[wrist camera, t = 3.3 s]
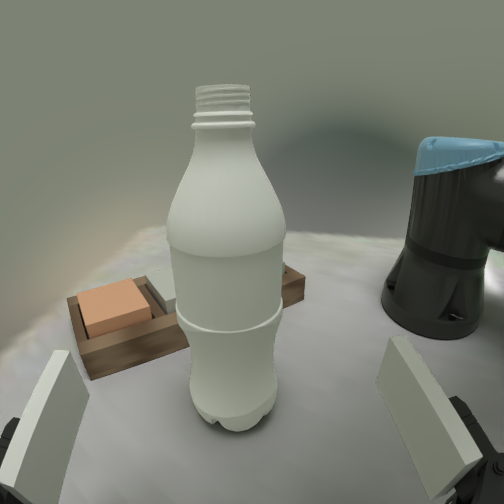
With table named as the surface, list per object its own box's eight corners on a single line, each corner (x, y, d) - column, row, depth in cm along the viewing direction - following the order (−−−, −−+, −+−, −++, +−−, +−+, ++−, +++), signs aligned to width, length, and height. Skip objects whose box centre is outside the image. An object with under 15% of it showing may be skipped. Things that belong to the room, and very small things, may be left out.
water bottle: (238, 454, 22) (222, 76, 12) (178, 408, 26) (132, 93, 16) (291, 403, 27) (313, 88, 16) (232, 369, 31) (222, 92, 21)
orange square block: (135, 297, 39) (131, 277, 38) (154, 327, 34) (149, 305, 32) (82, 313, 35) (76, 293, 34) (93, 347, 30) (85, 325, 29)
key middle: (197, 278, 44) (196, 259, 42) (225, 302, 38) (223, 282, 37) (148, 293, 40) (144, 274, 39) (169, 322, 35) (165, 301, 33)
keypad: (251, 266, 52) (251, 245, 50) (303, 299, 43) (305, 276, 41) (73, 321, 37) (66, 298, 36) (90, 380, 28) (80, 355, 27)
